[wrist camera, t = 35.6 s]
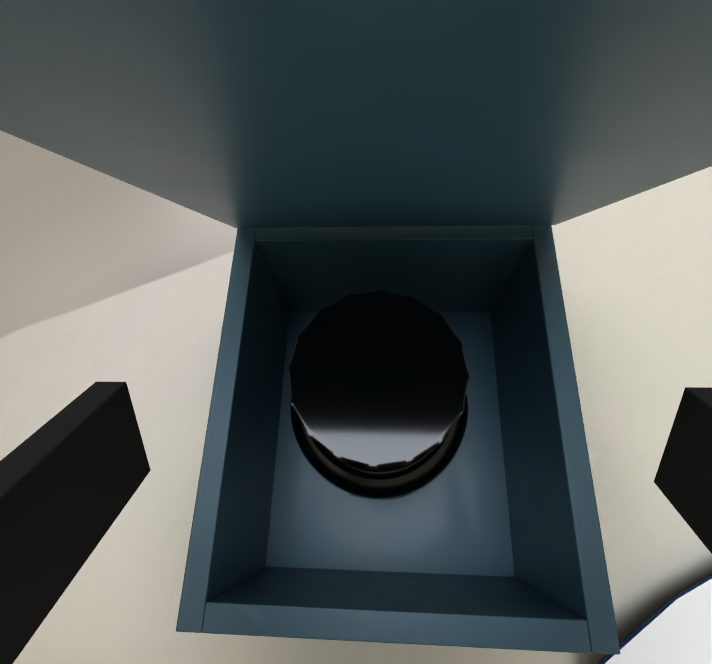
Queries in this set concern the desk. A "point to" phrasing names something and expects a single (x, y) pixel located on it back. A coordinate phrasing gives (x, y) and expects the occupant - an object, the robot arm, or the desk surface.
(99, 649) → the desk surface
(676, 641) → the plate
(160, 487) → the desk surface
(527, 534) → the chest
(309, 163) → the lid
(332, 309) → the ink bottle
